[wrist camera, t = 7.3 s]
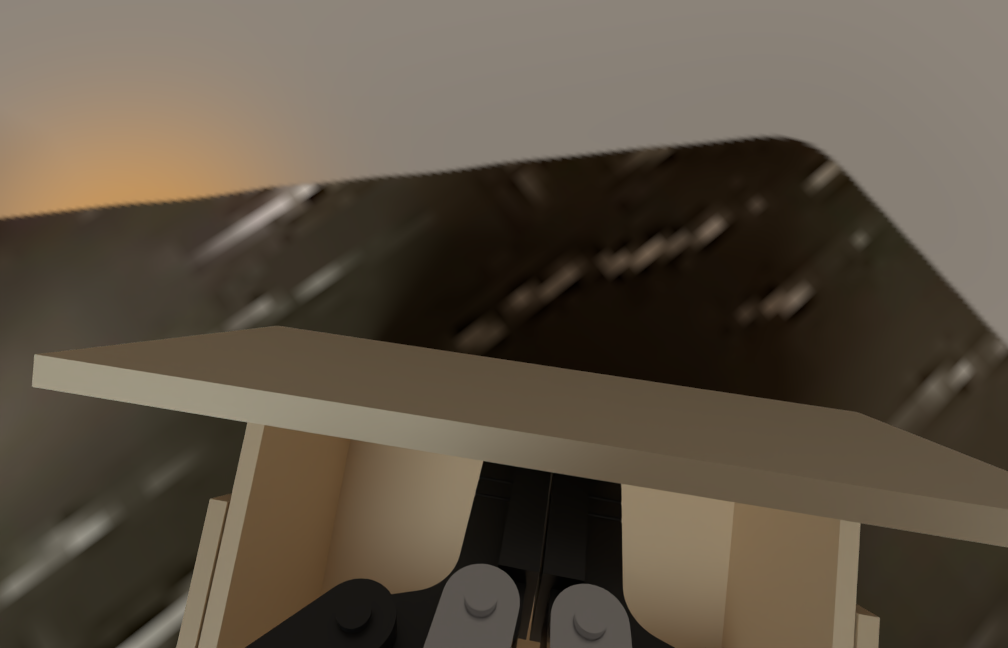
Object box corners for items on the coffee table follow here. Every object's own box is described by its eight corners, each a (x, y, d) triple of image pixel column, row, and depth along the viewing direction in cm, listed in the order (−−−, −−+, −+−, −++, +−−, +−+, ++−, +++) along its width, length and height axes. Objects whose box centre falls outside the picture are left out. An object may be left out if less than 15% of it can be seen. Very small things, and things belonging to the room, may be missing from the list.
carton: (264, 769, 27) (101, 979, 17) (342, 376, 29) (242, 355, 19) (726, 870, 25) (851, 1173, 15) (762, 441, 28) (888, 456, 18)
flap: (32, 386, 10) (34, 354, 10) (275, 343, 19) (277, 325, 19) (1159, 572, 9) (1167, 534, 9) (854, 431, 18) (858, 412, 18)
